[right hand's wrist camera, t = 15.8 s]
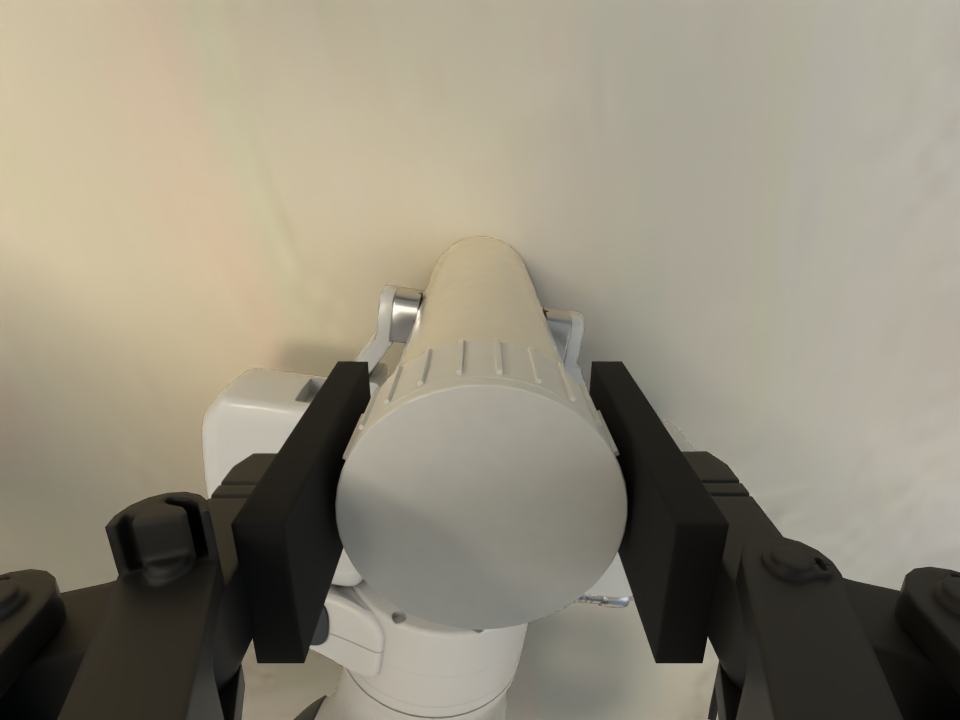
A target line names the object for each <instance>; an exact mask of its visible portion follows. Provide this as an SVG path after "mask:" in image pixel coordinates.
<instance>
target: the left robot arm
mask: <svg viewBox="0 0 960 720" xmlns="http://www.w3.org/2000/svg"><path fill="white" fill-rule="evenodd" d="M422 299H423V290H417V289H411V288H404V287H399V286H392V285H386V286H385V287H384V289H383V290H382V293H381V298H380V303H379V312H378V324H377V331H376V332H375V333H374V335H373V336H372V337H371V339H370V340H369V341H368V342H367V344H366V345H365V346H364V348H363V349H362V350H361V352H360V353H359V354H358V356H357V357H356V358H355V360H354V362H368V369H369V382H370V395H371V396H372V394H373V392H374V390H375V388H376V387H378V388H380V387H381V386H382V385H383V384H384V383H385V382H386V377H387V365H386V364H384V363H378V362H379V360H380V359H381V358H382V356H383V355H384V354H385V352H386V351H387V350H388V348H389V347H390V346H391V345H392V343H393V342H401V343H406V342H407V339H408V337H409V334H410V331H411V329H412V326H413V323H414V321H415V318H416V315H417V313H418V310H419V307H420V305H421V302H422ZM542 310H543V312H544V315H545V317H546V320H547V322H548V325H549V328H550V330H551V333H552V335H553V338H554V341H555V343H556V346H557V348H558V351H559V353H560V356H561V359H562V361H563V364H564V366H565V369H566V371H567V372H568V373H569V374H571V375H572V377H573V378H574V379H575V380H576V381H577V382H578V383H579V384H580V385H582V384H584V385H585V382H584V380H583V377H582V374H581V371H580V368H579V366H578V364H577V360H578V356H579V351H580V347H581V342H582V338H583V333H584V319H583V317H582V316H581V314H580V312H574V311H567V310H560V309H552V308H543V309H542ZM327 378H328V377H322V376H315V375H307V374H300V373H292V372H285V371H277V370H270V369H263V368H252V369H249V370H247V371H246V372H244V373H243V374H242V375H240V376H239V377H238V378H237V379H235V380H234V381H233V382H232V383H230V384H229V385H228V386H227V387H226V388H225V389H224V390H223V391H222V392H221V393H220V394H219V395H218V396H217V397H216V398H215V399H214V400H213V402H212V403H211V404H210V406H209V407H208V409H207V411H206V413H205V415H204V418H203V424H202V447H203V462H204V472H205V481H206V488H207V495H208V499H209V498H211V495H212V493H213V492H214V491H215V490H216V488H217V487H218V486H219V485H221V482H222V480H223V479H224V478H225V477H226V475H227V474H228V473H229V471H230V470H231V469H232V467H233V466H235V465H236V464H238V463H239V462H241V461H242V460H244V459H245V458H247V457H249V456H250V455H252V454H253V453H278V452H279V450H280V449H281V447H282V446H283V444H284V443H285V441H286V440H287V438H288V437H289V435H290V434H291V432H292V431H293V429H294V428H295V426H296V425H297V423H298V422H299V420H300V419H301V417H302V416H303V414H304V413H305V411H306V410H307V408H308V406H309V405H310V403H311V402H312V400H313V399H314V397H315V396H316V394H317V393H318V391H319V390H320V388H321V387H322V385H323V384H324V382H325V381H326V379H327ZM585 386H586V385H585ZM662 423H663V425H664V426H665V428H666V429H667V431H668V432H669V434H670V435H671V437H672V438H673V440H674V441H675V443H676V444H677V446H678V447H679V449H680V450H681V451H695V450H694V449H693V447H692V446H691V444H690V443H689V442H688V440H687V439H686V438H685V437H684V435H683V434H682V433H681V432H680V430H679V429H678V428H677V427H676V426H674V425H673V424H670V423H666V422H662ZM631 600H634V598H633V595H632V592H631V589H630V586H629V583H628V580H627V577H626V574H625V571H624V568H623V565H622V562H621V559H620V556H619V554H618V551H617V553H616V555H615V557H614V559H613V561H612V563H611V564H610V566H609V567H608V569H607V570H606V572H605V573H604V574H603V576H602V577H601V578H600V579H599V580H598V581H597V582H596V583H595V584H594V586H593V587H592V588H590V589H589V590H588V591H587V592H586V593H585V594H583V595H582V596H581V597H580V598H579V599H577V600H576V601H574V603H576V602H585V603H595V604H599V605H600V606H604V607H610V608H621V607H626V606H628V604H629V601H631ZM527 627H528V623H526V624H522V625H518V626H513V627H506V628H500V629H464V628H456V627H449V626H445V625H441V624H437V623H433V622H430V621H427V620H424V619H421V618H418V617H416V616H414V615H412V614H410V613H408V612H405V611H403V610H401V609H400V608H398V607H396V606H395V605H393V604H392V603H390V602H388V601H387V600H386V599H384V598H383V597H382V596H381V595H379V594H378V593H377V592H376V591H374V590H373V589H372V588H371V587H370V586H369V585H368V583H367V582H366V581H365V580H364V579H363V578H362V577H361V576H360V574H359V573H358V572H357V570H356V569H355V568H354V566H353V565H352V563H351V561H350V559H349V557H348V556H347V554H346V552H345V550H344V548H343V551H342V554H341V556H340V559H339V562H338V565H337V568H336V571H335V574H334V577H333V580H332V583H331V586H330V589H329V592H328V595H327V598H326V600H325V603H324V606H323V609H322V612H321V615H320V618H319V621H318V624H317V627H316V630H315V633H314V636H313V639H312V642H311V644H310V647H309V649H311V650H313V651H315V652H317V653H319V654H321V655H323V656H325V657H327V658H329V659H331V660H333V661H334V662H336V663H338V664H340V665H341V666H343V671H342V674H341V677H340V680H339V683H338V686H337V690H336V692H335V693H334V695H332V696H331V697H327V696H326V695H325V696H323V697H321V698H320V699H318V700H317V701H315V702H314V703H312V704H311V705H310V706H308V707H307V708H306V709H305V710H304V711H302V712H301V713H300V714H299V715H298V716H297V717H296V718H295V719H294V720H506V711H507V702H506V692H507V690H508V688H509V687H510V685H511V683H512V681H513V679H514V676H515V674H516V671H517V669H518V665H519V661H520V657H521V653H522V648H523V644H524V640H525V635H526V631H527Z"/></svg>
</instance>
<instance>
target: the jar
mask: <svg viewBox="0 0 960 720" xmlns="http://www.w3.org/2000/svg"><path fill="white" fill-rule="evenodd" d="M460 339H464V341H476V340H485V341H494V339H500V342H505V343H511V344H515V345H518V346H522V347H525V348H528V347H529V346H530V347H533V348H534V351H535V352H537V353H540V354H542V355H544V356H546V357H547V358H549V359H551V360H552V361H554V362H555V363H557V364H558V363H559V362H561V363H562V364H563V361H562V359H561V356H560V353H559V351H558V348H557V346H556V343H555V341H554V338H553V335H552V333H551V330H550V328H549V325H548V322H547V320H546V317H545V315H544V312H543V310H542V307H541V304H540V302H539V299H538V297H537V294H536V291H535V289H534V286H533V284H532V281H531V279H530V276H529V273H528V271H527V268H526V266H525V264H524V262H523V260H522V259H521V257H520V256H519V254H518V253H517V252H516V251H515V250H514V249H513V248H512V247H510V246H509V245H507V244H506V243H504V242H502V241H500V240H497V239H494V238H490V237H481V236H479V237H471V238H466V239H463V240H461V241H459V242H457V243H455V244H453V245H452V246H450V247H449V248H448V249H447V250H446V251H445V252H444V253H443V254H442V255H441V256H440V258H439V260H438V261H437V263H436V265H435V267H434V270H433V273H432V275H431V278H430V281H429V283H428V286H427V289H426V291H425V294H424V297H423V299H422V302H421V305H420V307H419V310H418V313H417V315H416V318H415V321H414V323H413V326H412V329H411V331H410V334H409V337H408V339H407V342H406V345H405V347H404V350H403V353H402V355H401V358H400V361H399V363H398V365H399V364H401V365H402V366H403V365H404V364H406V363H407V362H409V361H410V360H412V359H413V358H415V357H417V356H419V355H421V354H423V353H425V349H427V348H430V349H431V350H432V349H435V348H438V347H441V346H444V345H448V344H453V343H458V342H459V340H460ZM563 365H564V364H563ZM564 368H565V366H564ZM565 370H566V369H565Z"/></svg>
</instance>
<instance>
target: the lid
mask: <svg viewBox="0 0 960 720" xmlns="http://www.w3.org/2000/svg"><path fill="white" fill-rule="evenodd" d="M618 455H619V452H618V449H617V447H616V445H615V443H614V441H613V439H612V436H611V434H610V432H609V430H608V428H607V425H606V423H605V421H604V419H603V417H602V414H601V412H600V410H598V411H597V410H596V408H595V406H594V404H593V401H592V399H591V397H590V395H589V392H588V390H587V388H586V386H585V385H584V384H582V385H580V384H579V383H578V382H577V381H576V380H575V379H574V378H573V377H572V375H571V374H569V373H568V372H567V371H566V370H565V368H564V365H563V364H562V363H561V362H559V363H558V364H557V363H555V362H554V361H552V360H551V359H549V358H547V357H546V356H544V355H542V354H540V353H537V352H535V351H534V348H533V347H530V346H529V347H528V348H525V347H522V346H518V345H515V344H511V343H505V342H500V339H494V341H485V340H476V341H464V339H460V340H459V342H458V343H453V344H448V345H444V346H441V347H438V348H435V349H432V350H431V349H430V348H427V349H425V353H423V354H421V355H419V356H417V357H415V358H413V359H412V360H410V361H409V362H407V363H406V364H404V365H403V366H402V365H401V364H399V365H398V366H397V367H396V369H395V372H394V373H393V374H392V375H391V376H390V377H389V378H388V379H387V380H386V382H385V383H384V384H383V385H382V386H381V387H380V388H378V387H376V388H375V390H374V392H373V394H372V396H371V399H370V401H369V403H368V406H367V408H366V410H365V413H364V414H361V416H360V418H359V421H358V423H357V425H356V428H355V430H354V432H353V434H352V437H351V439H350V441H349V443H348V446H347V448H346V450H345V452H344V455H343V458H342V459H344V460H346V461H345V464H344V466H343V468H342V471H341V474H340V478H339V481H338V485H337V491H336V500H335V510H336V522H337V527H338V532H339V536H340V539H341V542H342V544H343V547H344V550H345V552H346V554H347V556H348V557H349V559H350V561H351V563H352V565H353V566H354V568H355V569H356V570H357V572H358V573H359V574H360V576H361V577H362V578H363V579H364V580H365V581H366V582H367V583H368V585H369V586H370V587H371V588H372V589H373V590H374V591H376V592H377V593H378V594H379V595H381V596H382V597H383V598H384V599H386V600H387V601H388V602H390V603H392V604H393V605H395V606H396V607H398V608H400V609H401V610H403V611H405V612H408V613H410V614H412V615H414V616H416V617H418V618H421V619H424V620H427V621H430V622H433V623H437V624H441V625H445V626H449V627H456V628H464V629H500V628H506V627H513V626H518V625H522V624H526V623H529V622H533V621H536V620H539V619H541V618H544V617H547V616H549V615H551V614H553V613H555V612H557V611H559V610H561V609H563V608H565V607H567V606H568V605H570V604H571V603H573V602H574V601H576V600H577V599H579V598H580V597H581V596H582V595H583V594H585V593H586V592H587V591H588V590H589V589H590V588H592V587H593V586H594V584H595V583H596V582H597V581H598V580H599V579H600V578H601V577H602V576H603V574H604V573H605V572H606V570H607V569H608V567H609V566H610V564H611V563H612V561H613V559H614V557H615V555H616V553H617V551H618V550H619V548H620V545H621V542H622V539H623V536H624V533H625V528H626V522H627V516H628V497H627V490H626V482H625V480H624V477H623V474H622V470H621V467H620V465H619V463H618V461H617V458H616V456H618Z"/></svg>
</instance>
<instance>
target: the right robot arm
mask: <svg viewBox="0 0 960 720" xmlns="http://www.w3.org/2000/svg"><path fill="white" fill-rule="evenodd" d="M590 397H591V399H592V401H593V404H594V406H595V408H596V410H597V411H598V410H600V412H601V414H602V417H603V419H604V421H605V423H606V425H607V428H608V430H609V432H610V434H611V436H612V439H613V441H614V443H615V445H616V447H617V449H618V452H619V455H618V456H616V458H617V461H618V463H619V465H620V467H621V470H622V474H623V477H624V480H625V482H626V490H627V497H628V516H627V522H626V528H625V533H624V536H623V539H622V542H621V545H620V548H619V550H618V554H619V556H620V559H621V562H622V565H623V568H624V571H625V574H626V577H627V580H628V583H629V586H630V589H631V592H632V595H633V598H634V600H635V603H636V606H637V609H638V612H639V615H640V618H641V621H642V624H643V627H644V630H645V633H646V636H647V639H648V642H649V644H650V647H651V650H652V653H653V656H654V659H655V662H656V663H703V658H704V653H705V647H706V642H707V637H709V639H710V642H711V644H712V646H713V648H714V650H715V652H716V654H717V657H718V659H719V664H718V669H717V674H716V679H715V684H714V689H713V694H712V698H711V703H710V709H709V715H708V719H709V720H716V716H717V711H718V717H719V720H960V572H956V571H953V570H948V569H941V568H935V567H924V568H916V569H913V570H912V571H911V572H909V573H908V574H907V575H906V576H905V579H904V582H903V585H902V588H901V591H898V590H893V589H889V588H884V587H879V586H875V585H870V584H865V583H861V582H856V581H852V580H849V579H845V578H843V577H842V575H841V573H840V572H839V570H838V569H837V568H836V566H835V565H834V563H833V562H832V561H831V560H829V559H828V558H827V557H826V556H824V555H823V554H822V553H820V552H819V551H818V550H816V549H814V548H812V547H810V546H807V545H805V544H803V543H801V542H799V541H795V540H791V539H788V538H784V537H783V536H782V535H781V533H780V532H779V531H778V530H777V528H776V527H775V526H774V524H773V523H772V522H771V521H770V519H769V518H768V517H767V515H766V514H765V513H764V512H763V510H762V509H761V508H760V506H759V505H758V504H757V503H756V501H755V500H754V499H753V497H750V496H749V492H748V491H747V490H746V488H745V487H744V486H743V485H742V483H739V479H738V478H737V477H736V476H735V474H734V473H733V472H732V470H731V469H730V468H729V467H728V465H727V464H725V463H724V462H722V461H721V460H719V459H718V458H716V457H714V456H713V455H711V454H710V453H708V452H707V451H681V450H680V449H679V447H678V446H677V444H676V443H675V441H674V440H673V438H672V437H671V435H670V434H669V432H668V431H667V429H666V428H665V426H664V425H663V423H662V422H661V420H660V419H659V417H658V416H657V414H656V413H655V411H654V410H653V408H652V407H651V405H650V403H649V402H648V400H647V399H646V397H645V396H644V394H643V393H642V391H641V390H640V388H639V387H638V385H637V384H636V382H635V381H634V379H633V378H632V376H631V375H630V373H629V372H628V370H627V369H626V367H625V366H624V364H623V363H622V362H592V369H591V382H590ZM370 399H371V395H370V382H369V369H368V362H338V363H337V364H336V366H335V367H334V369H333V370H332V372H331V373H330V375H329V376H328V378H327V379H326V381H325V382H324V384H323V385H322V387H321V388H320V390H319V391H318V393H317V394H316V396H315V397H314V399H313V400H312V402H311V403H310V405H309V406H308V408H307V410H306V411H305V413H304V414H303V416H302V417H301V419H300V420H299V422H298V423H297V425H296V426H295V428H294V429H293V431H292V432H291V434H290V435H289V437H288V438H287V440H286V441H285V443H284V444H283V446H282V447H281V449H280V450H279V452H278V453H253V454H252V455H250V456H249V457H247V458H245V459H244V460H242V461H241V462H239V463H238V464H236V465H235V466H233V467H232V469H231V470H230V471H229V473H228V474H227V475H226V477H225V478H224V479H223V480H222V482H221V485H219V486H218V487H217V488H216V490H215V491H214V492H213V493H212V495H211V498H209V499H208V500H206V499H204V498H203V497H202V496H201V495H198V494H193V493H189V492H175V493H166V494H161V495H157V496H153V497H149V498H147V499H144V500H142V501H139V502H137V503H135V504H132V505H130V506H129V507H127V508H126V509H124V510H123V511H121V512H120V513H118V514H117V515H115V516H114V517H113V518H112V520H111V521H110V522H109V523H108V524H107V526H106V527H105V529H106V532H107V535H108V539H109V542H110V546H111V549H112V553H113V556H114V560H115V563H116V567H117V570H118V573H119V576H118V578H117V580H116V581H113V582H109V583H106V584H101V585H97V586H92V587H87V588H83V589H78V590H74V591H69V592H64V593H60V591H59V588H58V585H57V582H56V579H55V577H54V576H52V575H51V574H50V573H48V572H47V571H41V570H33V569H29V570H22V571H16V572H10V573H6V574H3V575H0V720H241V718H242V709H243V699H244V690H245V681H244V675H243V669H242V664H241V662H242V659H243V657H244V655H245V653H246V651H247V649H248V647H249V644H250V642H251V640H252V638H253V642H254V647H255V653H256V658H257V663H304V662H305V659H306V656H307V653H308V650H309V647H310V644H311V642H312V639H313V636H314V633H315V630H316V627H317V624H318V621H319V618H320V615H321V612H322V609H323V606H324V603H325V600H326V598H327V595H328V592H329V589H330V586H331V583H332V580H333V577H334V574H335V571H336V568H337V565H338V562H339V559H340V556H341V554H342V551H343V548H344V547H343V544H342V542H341V539H340V536H339V532H338V527H337V522H336V510H335V500H336V491H337V485H338V481H339V478H340V474H341V471H342V468H343V466H344V464H345V461H346V460H344V459H342V458H343V455H344V452H345V450H346V448H347V446H348V443H349V441H350V439H351V437H352V434H353V432H354V430H355V428H356V425H357V423H358V421H359V418H360V416H361V414H364V413H365V410H366V408H367V406H368V403H369V401H370Z"/></svg>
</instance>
